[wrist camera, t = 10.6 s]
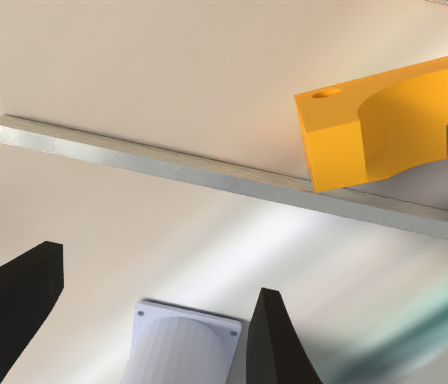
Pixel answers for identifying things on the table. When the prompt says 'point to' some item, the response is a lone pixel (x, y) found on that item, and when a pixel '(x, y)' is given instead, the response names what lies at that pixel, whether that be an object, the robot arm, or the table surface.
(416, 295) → the table surface
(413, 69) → the pipe clamp
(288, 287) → the table surface
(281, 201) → the rail
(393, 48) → the table surface
